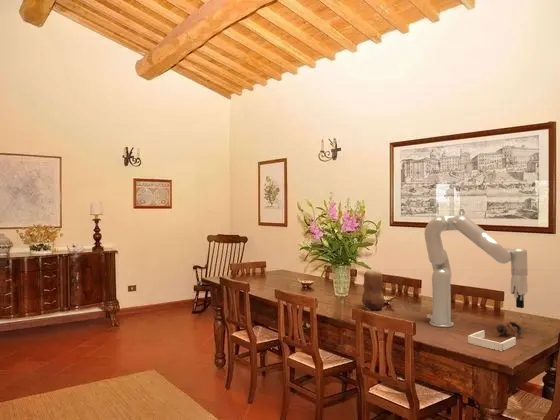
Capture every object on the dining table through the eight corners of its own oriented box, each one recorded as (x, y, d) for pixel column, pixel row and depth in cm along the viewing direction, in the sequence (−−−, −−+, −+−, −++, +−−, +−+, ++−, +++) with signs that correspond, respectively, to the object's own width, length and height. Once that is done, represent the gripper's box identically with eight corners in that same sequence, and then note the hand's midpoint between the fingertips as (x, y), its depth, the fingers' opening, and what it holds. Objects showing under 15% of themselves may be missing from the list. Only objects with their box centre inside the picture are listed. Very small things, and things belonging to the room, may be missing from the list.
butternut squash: (382, 307, 290) (382, 268, 290) (385, 312, 277) (385, 271, 276) (361, 306, 291) (361, 268, 291) (363, 311, 278) (363, 271, 278)
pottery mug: (509, 333, 233) (517, 321, 229) (518, 346, 224) (527, 334, 221) (489, 328, 230) (497, 316, 227) (498, 342, 222) (506, 329, 219)
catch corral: (468, 343, 215) (468, 335, 215) (482, 337, 225) (482, 330, 225) (501, 351, 203) (501, 343, 203) (515, 344, 212) (515, 337, 212)
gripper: (518, 270, 240) (518, 304, 240) (505, 273, 230) (506, 308, 230) (533, 271, 234) (533, 306, 234) (520, 274, 224) (521, 311, 225)
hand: (520, 307), depth 232 cm, fingers closed
